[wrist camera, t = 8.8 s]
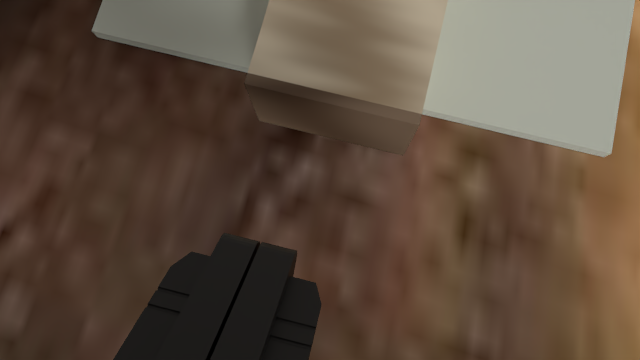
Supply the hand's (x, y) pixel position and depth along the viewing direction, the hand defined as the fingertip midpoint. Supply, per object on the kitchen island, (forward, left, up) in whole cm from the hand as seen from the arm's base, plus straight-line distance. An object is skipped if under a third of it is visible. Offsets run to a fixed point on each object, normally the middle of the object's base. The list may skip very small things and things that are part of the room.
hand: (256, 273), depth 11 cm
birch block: (0, +6, -8) cm, 10 cm away
